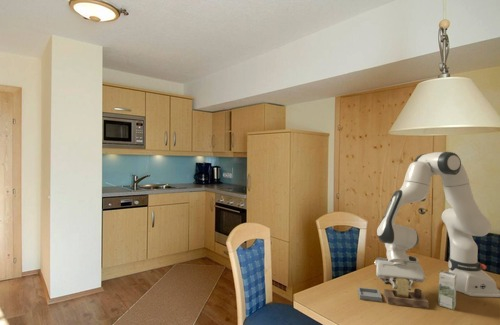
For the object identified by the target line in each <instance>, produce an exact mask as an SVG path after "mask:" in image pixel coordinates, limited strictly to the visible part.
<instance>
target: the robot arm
mask: <svg viewBox="0 0 500 325" xmlns="http://www.w3.org/2000/svg"><path fill="white" fill-rule="evenodd" d="M405 172H406V173H405V176H404V179H403V183H402V185H401V187H400V188H399V189H398V190H396V191H394V193H393V194H392V196H391V197H390V200H389V203H388V204H387V207H386V210H385V212H384V215H383V216H382V220H381V221H380V223H379V224H378V226H377V229H376V236H377V238H378V240H380V242H381V243H383V244H384V246H385V249H386V259H380V258H381V257H380V258H377V257H376V259H375V260H374V266H375V267H376V268H375V269H376V270H375V274H376V277H377V278H378V279H380V278H385V279H389V281H390V283H389V284H391V285H392V290H395V289H397V284H396V282H395V281H396V277H397V278H407V280H408V281H409V291H412V290H413V289H412V284H413V283H414V282H415V283H423V282H424V281H425V279H426V275H425V272H424V269H423V267H422V265H421V264H420V263H419V262H420V260H419V258H418V257H416V256H415V257H414V256H412V255H409V254H407V252H406V251H409V250H411V249H412V248H415V247H416V246H417V245H418V244H419V241H420V240H419V238H420V237H419V233H418V232H417V230H416V229H415V228H412V227H409V226H406V225H405V226H404V225H400V224H397V223H395V222H396V219H397V216H398V214H399V211H400V209H401V208H402V206H405V205H406V204H411V203H413V204H414V203H418V202H421V201H423V200H424V199H425V198H427V196H428V194H429V192H430V187H431V180H432V176H437V175H438V176H440V178H441V183H442V184H441V185H442V187H443V188H442V189H443V192H444V193H443V194H444V197H445V200H446V202H447V203H448V204H449V205H450V206H451V207H449V208H446V209H445V210H443V212H442V213H441V221H442V222H443V224H444V225H445V228H446V231H447V235H448V238H449V257H448V272H451V273H456V274H457V280H456V292H459V293H463V294H465V295H467V296H470V297H484V298H485V297H486V298H500V289H499V288H498V287H497V283H496V281H495V279H493V277H491V275H489V274H487V272H485V271H484V270H486V269H487V267H488V266H487V265H485V264H484V263H481V262H479V261H478V256H479V255H478V254H479V253H478V250H479V249H478V248H479V247H478V244H477V243H476V242H475V240H474V238H473V237H484V236H486V235H488V234H490V232H491V229H492V224H491V221H490V220H489V219H488V217H486V216H485V214H484V213H483V212H482V211H481V209H480V208H479V206H478V204H477V202H476V200H475V198H474V195H473V191H472V189H471V185H470V180H469V177H468V174H467V171H466V168H465V167H464V165H463V164H462V161H461V158H460V156H459V155H458V154H456V153H455V152H451V151H434V152H430V153H423V154H420V155H418V156H416V158H415V159H414V161H413V162H411V163H410V164H409V165H408V167H407V170H406V171H405ZM393 280H395V281H393Z"/></svg>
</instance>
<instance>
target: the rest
mask: <svg viewBox="0 0 500 325" xmlns="http://www.w3.org/2000/svg"><path fill="white" fill-rule="evenodd" d="M357 292H358V298H359V300H361V301H370V302H377V303H378V302H379V303H382V302H383V297H382V295H381V292H380V289H378V288H368V287H360V286H359V287H357Z"/></svg>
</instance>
